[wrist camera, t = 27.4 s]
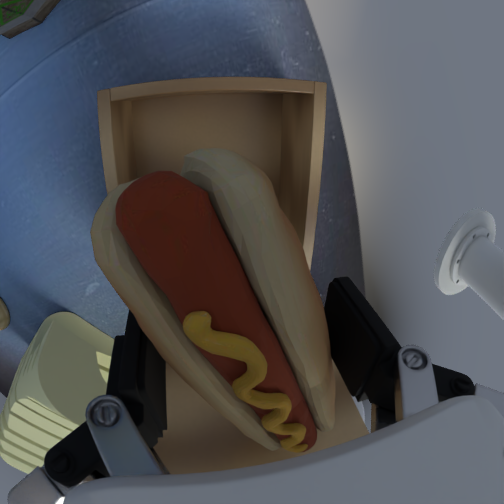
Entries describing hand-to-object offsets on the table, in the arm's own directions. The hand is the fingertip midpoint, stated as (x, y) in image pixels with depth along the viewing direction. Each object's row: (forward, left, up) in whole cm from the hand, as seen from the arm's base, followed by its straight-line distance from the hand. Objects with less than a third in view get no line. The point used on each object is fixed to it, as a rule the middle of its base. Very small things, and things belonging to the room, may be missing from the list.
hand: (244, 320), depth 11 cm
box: (0, 0, -18) cm, 18 cm away
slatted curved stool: (+20, +22, -18) cm, 35 cm away
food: (0, 0, -1) cm, 1 cm away
